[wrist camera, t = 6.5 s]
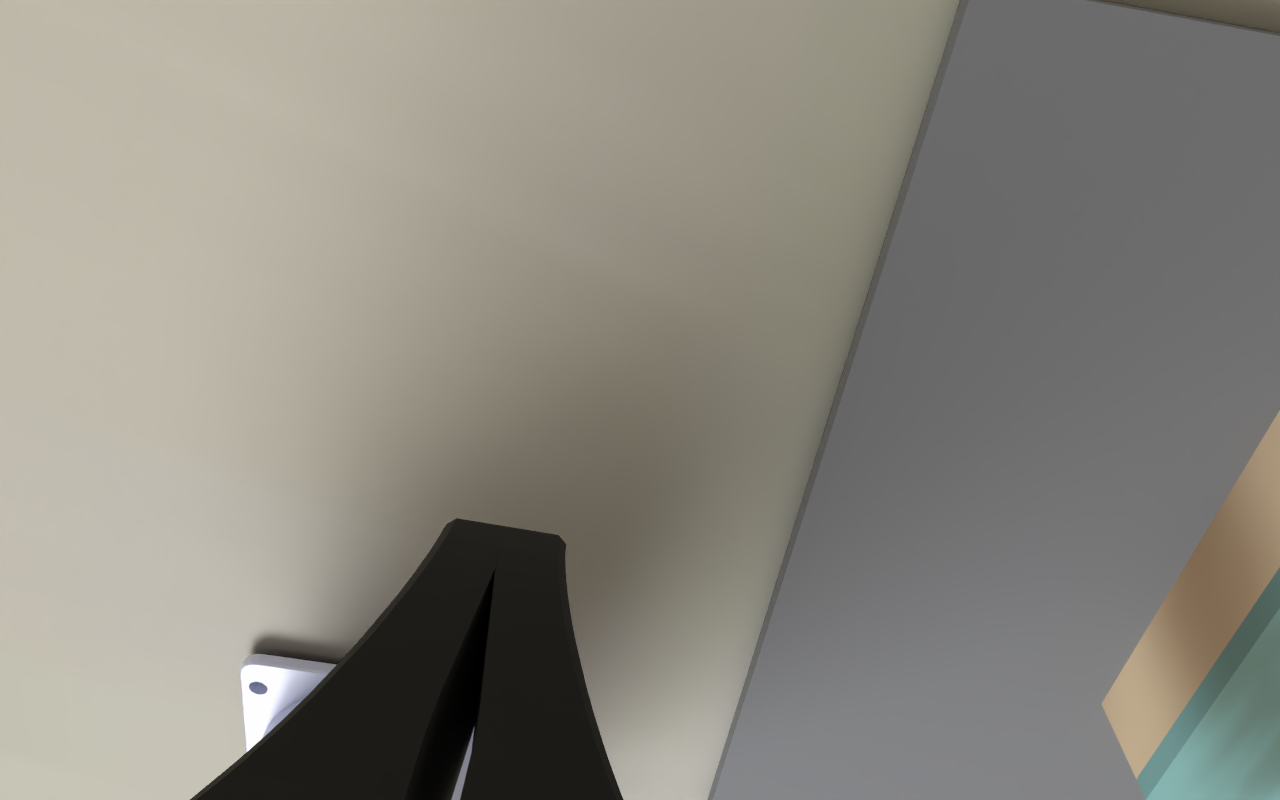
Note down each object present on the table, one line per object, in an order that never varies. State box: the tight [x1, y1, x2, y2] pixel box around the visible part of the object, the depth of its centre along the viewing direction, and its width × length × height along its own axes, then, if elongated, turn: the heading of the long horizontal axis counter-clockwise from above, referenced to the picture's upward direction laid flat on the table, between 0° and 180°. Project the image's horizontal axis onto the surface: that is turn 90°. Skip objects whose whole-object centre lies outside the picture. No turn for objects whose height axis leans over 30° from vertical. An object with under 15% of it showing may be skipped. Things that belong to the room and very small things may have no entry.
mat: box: [708, 0, 1280, 800], centre depth 24 cm, size 24×20×1 cm
